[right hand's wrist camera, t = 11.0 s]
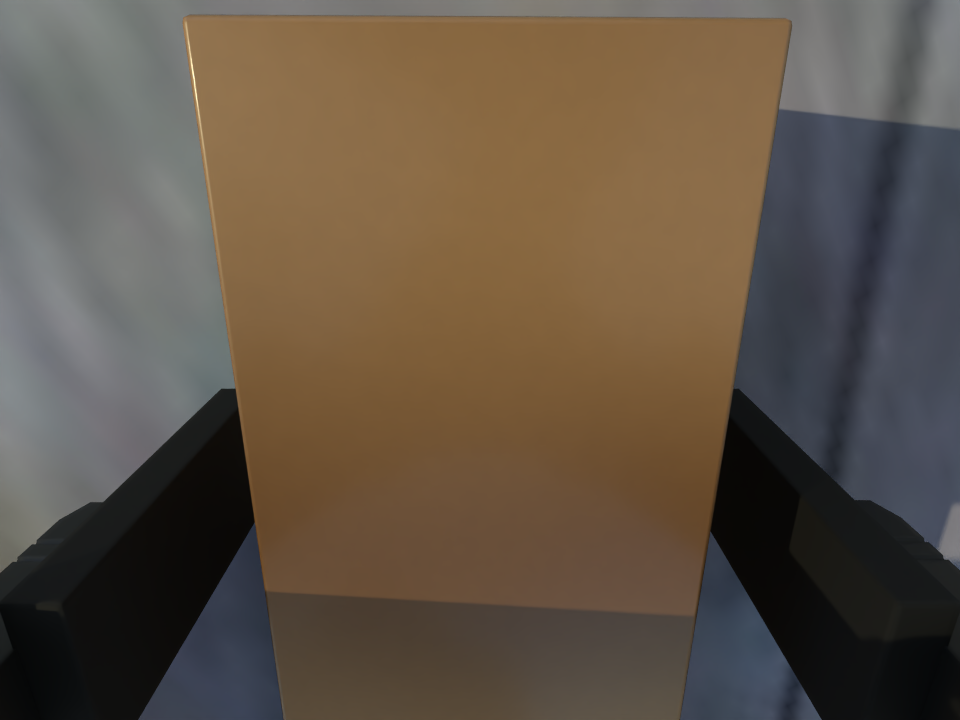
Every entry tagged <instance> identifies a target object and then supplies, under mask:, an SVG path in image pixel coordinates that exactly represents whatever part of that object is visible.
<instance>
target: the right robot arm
mask: <svg viewBox="0 0 960 720" xmlns="http://www.w3.org/2000/svg"><path fill="white" fill-rule="evenodd" d="M254 522H255V519H254V512H253V505H252V498H251V491H250V484H249V477H248V470H247V464H246V457H245V450H244V443H243V436H242V429H241V422H240V415H239V408H238V401H237V394H236V389H221V390H220V391H219V392H218V393H217V394H215V395H214V396H213V397H212V398H211V399H210V400H209V401H208V402H207V403H206V404H205V405H204V406H203V407H202V408H201V409H200V410H199V411H198V412H197V413H196V414H195V415H194V416H193V417H192V418H191V419H189V420H188V421H187V422H186V423H185V424H184V425H183V426H182V427H181V428H180V429H179V430H178V431H177V432H176V433H175V434H174V435H173V436H172V437H171V438H170V439H169V440H168V441H167V442H166V443H164V444H163V445H162V446H161V447H160V448H159V449H158V450H157V451H156V452H155V453H154V454H153V455H152V456H151V457H150V458H149V459H148V460H147V461H146V462H145V463H144V464H143V465H142V466H141V467H140V468H138V469H137V470H136V471H135V472H134V473H133V474H132V475H131V476H130V477H129V478H128V479H127V480H126V481H125V482H124V483H123V484H122V485H121V486H120V487H119V488H118V489H117V490H116V491H115V492H113V493H112V494H111V495H110V496H109V497H108V498H107V499H106V500H105V501H104V502H90V503H89V504H87V505H85V506H83V507H81V508H80V509H78V510H76V511H74V512H72V513H71V514H69V515H67V516H65V517H64V518H62V519H60V520H59V521H58V522H56V523H55V524H54V525H53V526H52V527H51V528H50V529H49V530H48V531H46V532H45V533H44V534H43V535H42V536H41V537H40V538H39V539H38V540H37V543H36V544H32V545H31V546H30V547H29V548H28V549H27V550H25V551H24V552H23V553H22V554H21V555H20V556H19V557H18V560H17V562H12V563H11V564H10V565H9V566H8V567H7V568H5V569H4V570H3V571H2V572H1V573H0V720H138V719H139V717H140V716H141V714H142V712H143V711H144V709H145V707H146V705H147V704H148V702H149V700H150V699H151V697H152V695H153V694H154V692H155V690H156V689H157V687H158V685H159V683H160V682H161V680H162V678H163V677H164V675H165V673H166V672H167V670H168V668H169V666H170V665H171V663H172V661H173V660H174V658H175V656H176V655H177V653H178V651H179V650H180V648H181V646H182V644H183V643H184V641H185V639H186V638H187V636H188V634H189V633H190V631H191V629H192V628H193V626H194V624H195V622H196V621H197V619H198V617H199V616H200V614H201V612H202V611H203V609H204V607H205V605H206V604H207V602H208V600H209V599H210V597H211V595H212V594H213V592H214V590H215V589H216V587H217V585H218V583H219V582H220V580H221V578H222V577H223V575H224V573H225V572H226V570H227V568H228V567H229V565H230V563H231V561H232V560H233V558H234V556H235V555H236V553H237V551H238V550H239V548H240V546H241V544H242V543H243V541H244V539H245V538H246V536H247V534H248V533H249V531H250V529H251V528H252V526H253V524H254ZM710 531H711V533H712V534H713V536H714V538H715V539H716V541H717V543H718V544H719V546H720V548H721V550H722V551H723V553H724V555H725V556H726V558H727V560H728V561H729V563H730V565H731V567H732V568H733V570H734V572H735V573H736V575H737V577H738V578H739V580H740V582H741V583H742V585H743V587H744V589H745V590H746V592H747V594H748V595H749V597H750V599H751V600H752V602H753V604H754V606H755V607H756V609H757V611H758V612H759V614H760V616H761V617H762V619H763V621H764V622H765V624H766V626H767V628H768V629H769V631H770V633H771V634H772V636H773V638H774V639H775V641H776V643H777V644H778V646H779V648H780V650H781V651H782V653H783V655H784V656H785V658H786V660H787V661H788V663H789V665H790V667H791V668H792V670H793V672H794V673H795V675H796V677H797V678H798V680H799V682H800V683H801V685H802V687H803V689H804V690H805V692H806V694H807V695H808V697H809V699H810V700H811V702H812V704H813V705H814V707H815V709H816V711H817V712H818V714H819V716H820V717H821V719H822V720H960V570H959V569H958V568H957V567H956V566H954V565H953V564H952V563H951V562H950V561H949V560H944V559H943V555H942V554H941V553H940V552H939V551H938V550H937V549H935V548H934V547H933V546H932V545H931V544H930V543H929V542H924V538H923V537H922V536H921V535H920V534H919V533H918V532H917V531H915V530H914V529H913V528H912V527H911V526H910V525H909V524H908V523H906V522H905V521H904V520H903V519H902V518H901V517H899V516H897V515H895V514H894V513H892V512H890V511H888V510H886V509H885V508H883V507H881V506H879V505H877V504H876V503H874V502H872V501H870V500H854V499H853V498H852V497H851V496H850V495H849V494H848V493H846V492H845V491H844V490H843V489H842V488H841V487H840V486H839V485H838V484H837V483H836V482H835V481H834V480H833V479H832V478H831V477H830V476H829V475H828V474H827V473H826V472H825V471H824V470H823V469H822V468H820V467H819V466H818V465H817V464H816V463H815V462H814V461H813V460H812V459H811V458H810V457H809V456H808V455H807V454H806V453H805V452H804V451H803V450H802V449H801V448H800V447H799V446H798V445H797V444H796V443H794V442H793V441H792V440H791V439H790V438H789V437H788V436H787V435H786V434H785V433H784V432H783V431H782V430H781V429H780V428H779V427H778V426H777V425H776V424H775V423H774V422H773V421H772V420H771V419H769V418H768V417H767V416H766V415H765V414H764V413H763V412H762V411H761V410H760V409H759V408H758V407H757V406H756V405H755V404H754V403H753V402H752V401H751V400H750V399H749V398H748V397H747V396H746V395H745V394H743V393H742V392H741V391H740V390H739V389H733V394H732V401H731V407H730V413H729V419H728V425H727V431H726V438H725V444H724V450H723V456H722V462H721V469H720V475H719V481H718V487H717V493H716V499H715V506H714V512H713V518H712V524H711V530H710Z"/></svg>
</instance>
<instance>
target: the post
mask: <svg viewBox="0 0 960 720" xmlns="http://www.w3.org/2000/svg"><path fill="white" fill-rule="evenodd" d="M183 29H184V35H185V42H186V49H187V56H188V63H189V70H190V77H191V84H192V91H193V98H194V104H195V111H196V118H197V125H198V132H199V139H200V146H201V153H202V160H203V167H204V174H205V180H206V187H207V194H208V201H209V208H210V215H211V222H212V229H213V236H214V243H215V249H216V256H217V263H218V270H219V277H220V284H221V291H222V298H223V305H224V312H225V319H226V325H227V332H228V339H229V346H230V353H231V360H232V367H233V374H234V381H235V388H236V394H237V401H238V408H239V415H240V422H241V429H242V436H243V443H244V450H245V457H246V464H247V470H248V477H249V484H250V491H251V498H252V505H253V512H254V519H255V526H256V533H257V539H258V546H259V553H260V560H261V567H262V574H263V581H264V588H265V595H266V602H267V609H268V615H269V622H270V629H271V636H272V643H273V650H274V657H275V664H276V671H277V678H278V684H279V691H280V698H281V705H282V712H283V719H284V720H680V716H681V710H682V703H683V697H684V691H685V685H686V679H687V673H688V666H689V660H690V654H691V648H692V642H693V635H694V629H695V623H696V617H697V611H698V605H699V598H700V592H701V586H702V580H703V574H704V567H705V561H706V555H707V549H708V543H709V537H710V530H711V524H712V518H713V512H714V506H715V499H716V493H717V487H718V481H719V475H720V469H721V462H722V456H723V450H724V444H725V438H726V431H727V425H728V419H729V413H730V407H731V401H732V394H733V388H734V382H735V376H736V370H737V363H738V357H739V351H740V345H741V339H742V333H743V326H744V320H745V314H746V308H747V302H748V295H749V289H750V283H751V277H752V271H753V265H754V258H755V252H756V246H757V240H758V234H759V227H760V221H761V215H762V209H763V203H764V197H765V190H766V184H767V178H768V172H769V166H770V159H771V153H772V147H773V141H774V135H775V129H776V122H777V116H778V110H779V104H780V98H781V91H782V85H783V79H784V73H785V67H786V61H787V54H788V48H789V42H790V36H791V30H792V22H791V21H790V20H788V19H786V18H692V17H517V16H343V15H188V16H186V17H184V18H183Z"/></svg>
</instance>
